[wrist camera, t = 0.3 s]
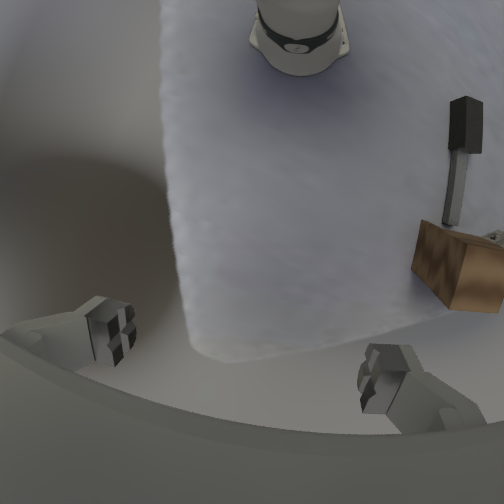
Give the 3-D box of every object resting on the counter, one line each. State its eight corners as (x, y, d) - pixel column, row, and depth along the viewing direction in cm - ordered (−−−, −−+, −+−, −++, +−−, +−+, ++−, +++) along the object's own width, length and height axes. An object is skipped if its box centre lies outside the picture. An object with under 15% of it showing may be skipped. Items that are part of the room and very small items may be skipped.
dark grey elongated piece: (450, 101, 43) (466, 95, 37) (465, 107, 43) (482, 102, 36) (438, 220, 51) (454, 228, 44) (454, 224, 50) (470, 231, 43)
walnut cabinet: (421, 219, 51) (467, 244, 34) (469, 229, 50) (520, 255, 32) (411, 268, 54) (449, 309, 36) (458, 275, 53) (502, 313, 35)
